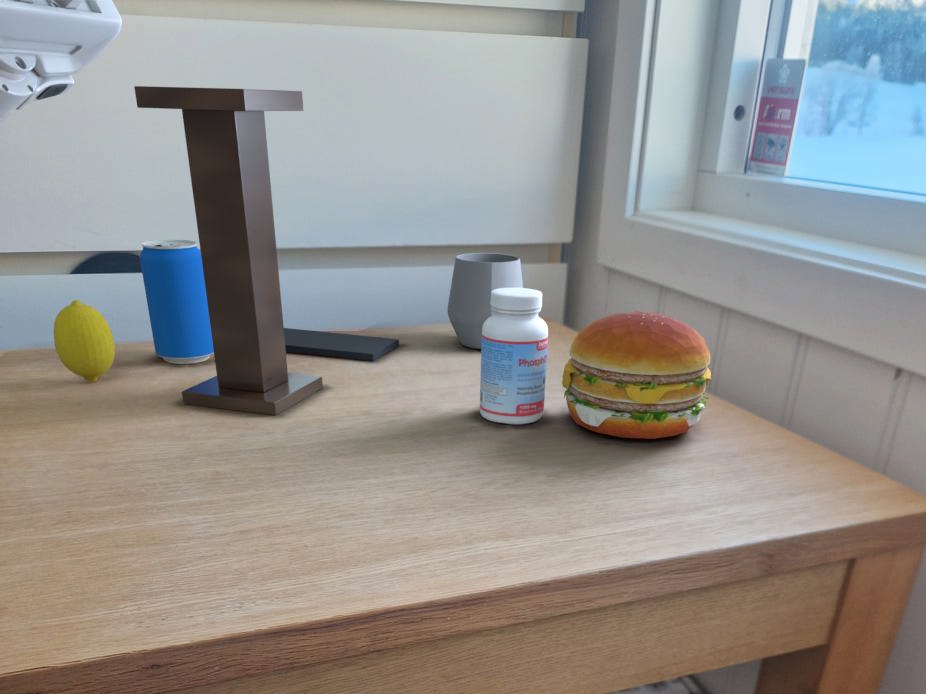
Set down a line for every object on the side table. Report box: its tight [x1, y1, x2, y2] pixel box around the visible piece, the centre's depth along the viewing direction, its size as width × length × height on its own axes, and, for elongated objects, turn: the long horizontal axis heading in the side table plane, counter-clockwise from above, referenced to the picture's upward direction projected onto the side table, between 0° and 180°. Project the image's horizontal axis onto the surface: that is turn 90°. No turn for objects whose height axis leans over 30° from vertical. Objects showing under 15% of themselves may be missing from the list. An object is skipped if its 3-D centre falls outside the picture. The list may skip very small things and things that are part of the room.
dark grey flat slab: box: [284, 327, 400, 362], centre depth 106 cm, size 20×8×1 cm, turn 73°
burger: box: [561, 311, 712, 440], centre depth 80 cm, size 14×14×10 cm
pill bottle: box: [479, 287, 549, 425], centre depth 81 cm, size 6×6×11 cm
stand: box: [133, 85, 324, 416], centre depth 81 cm, size 10×10×26 cm
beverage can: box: [139, 239, 214, 365], centre depth 96 cm, size 6×6×12 cm
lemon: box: [53, 299, 116, 383], centre depth 88 cm, size 6×6×8 cm
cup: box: [446, 252, 524, 350], centre depth 106 cm, size 10×9×10 cm
